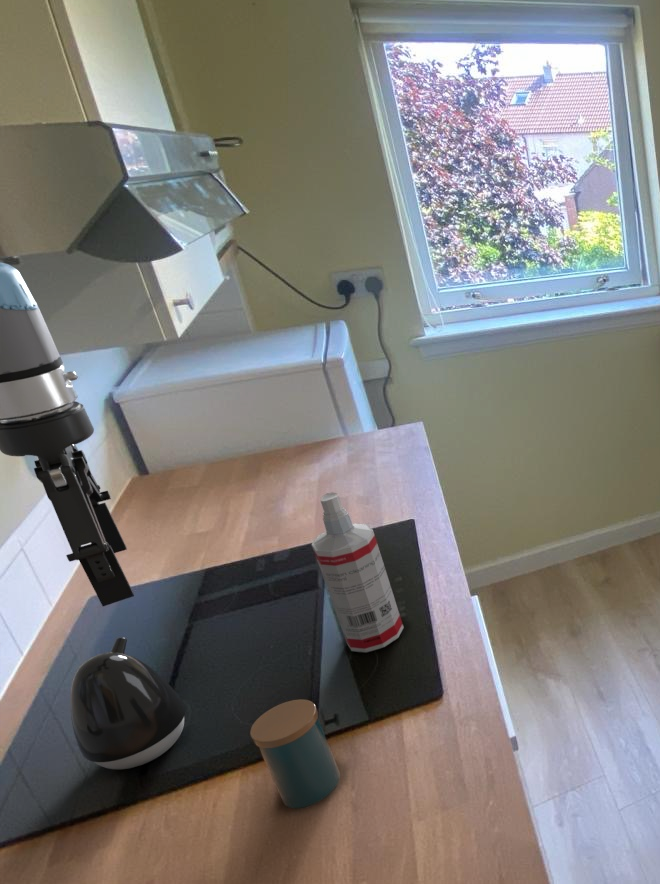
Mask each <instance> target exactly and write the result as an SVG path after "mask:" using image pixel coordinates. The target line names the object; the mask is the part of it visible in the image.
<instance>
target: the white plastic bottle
mask: <svg viewBox="0 0 660 884" xmlns="http://www.w3.org/2000/svg"><path fill="white" fill-rule="evenodd" d="M319 501H320V504H321V507H322V510H323V512H322V517H323V518H322V520H323V524H324V528H325V532H323V533H320V534H318V535H317V537H316V538H315V539H314V540H313V541H312V543H311V548H312V550H313V553H314V555H315V556H314V557H315V559H316V561H317V564H318V566H319V569H320V572H321V575H322V578H323V580H324V581H323V582H324V583H325V587H326V589H327V592H328V595H329V597H330V600H331V603H332V607H333V609H334V611H335V614H336V617H337V620H338V623H339V625H340V629H341V632H342V635H343V636H344V639H345V643H346V645H347V646H348V648H349V650H350V651H351V652H357V653H369V652H373V651H377V650H380V649H382V648H386V647H387V646H388V645H390V644H391V643H393V642H394V641H397V639H399V637H400V635H401V634H402V632H403V630H404V628H405V627H404V624H403V621H402V618H401V614H400V611H399V608H398V604H397V602H396V598H395V596H394V592H393V589H392V586H391V583H390V580H389V576H388V573H387V570H386V567H385V564H384V561H383V557H382V554H381V552H380V547H379V545H378V541H377V538H376V535H375V532H374V529H373V528H372V527H371V526H370V525H369V524H368V523H357V522H352V519H351V516H350V514H349V512H348V511H347V509H346V508H345V507H344V506H343V504H342V501H341V498H340V495H339V494H338V493H337V492H333V491H332V492H327V493H325V494H324V495H322V496H321V498H320V499H319Z"/></svg>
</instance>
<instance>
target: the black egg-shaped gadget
mask: <svg viewBox="0 0 660 884" xmlns="http://www.w3.org/2000/svg"><path fill="white" fill-rule="evenodd" d="M127 641H128V639H127V638H126V637H123V636H122V637H117V638H116V639H115V641H114V643H113V645H112V648H111V650H110V652H109V651H108V652H104V653H99V654H97V655H95V656H93V657H90V658H88V659H87V660H86V661H84V662H83V663H82V664H81V665H80V666H79V667H78V669H77V671H76V672H75V674H74V677H73V679H72V682H71V688H70V694H69V695H70V696H69V697H70V698H69V707H70V719H71V725H72V730H73V735H74V738H75V742H76V744H77V747H78V749H79V751H80V753H81V755H82V757H83V758H84V759H86V760H87V761H89V762H93V763H94V764H96V765H97V766H99V767H102V768H105V769H109V770H127V769H128V770H129V769H133V768H136V767H140V766H142V765H146V764H149V762H152V761H154V760H156V759H158V758H159V757H160V756H162V755H164V754H165V753H166V752H167V751H168V750H169V749H171V748H172V747H173V745H175V743H176V742H177V741H178V739H179V738H180V736H181V734H182V732H183V729H184V725H185V715H186V705H185V703H184V702H183V700H182V698H181V697H180V696H179V694H178V692H176V690H175V689H174V688H173V687H172V686H171V685H170V683H169V682H168V681H167V680H166V679H165V678H164V677H163V676H161V674H159V673H158V672H157V671H156V670H154V669H153V668H151V667H150V666H149V665H148V664H146V663H145V662H143V661H141V659H138V658H136V657H135V656H132V655H129V654H126V653H125V651H126V646H127Z"/></svg>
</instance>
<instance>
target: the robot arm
mask: <svg viewBox="0 0 660 884" xmlns="http://www.w3.org/2000/svg"><path fill="white" fill-rule="evenodd" d="M65 371H66V367H65V364H64V362H63V360H62V358H61V355H60V352H59V351H58V349H57V346H56V343H55V341H54V339H53V337H52V334H51V331H50V330H49V328H48V325H47V323H46V321H45V318H44V316H43V314H42V312H41V310H40V307H39V304H38V303H37V301H36V300H35V298H34V296H33V295H32V293H31V291H30V289H29V287H28V285H27V283H26V281H25V280H24V278H23V276H22V274H21V272H20V271H19V270H18V269H17V268H15V267H14V266H12V265H11V264H8V263H6V262H1V261H0V452H1V453H2V454H3V455H6V456H9V457H26V456H33V457H37V458H38V459H37V460H34V461H33V462H34V465H35V467H33V471H34V474H35V477H36V478H37V480H38V481H39V482H40V483H41V484H42V486H43V488H44V491H45V494H46V496H47V499H48V500H49V501H50V502H51V505H52V507H53V510H54V512H55V514H56V517H57V518H58V521H59V523H60V526H61V528H62V531H63V533H64V535H65V538H66V540H67V543H68V545H69V547H70V549H71V552H72V553H68V554H66V555H65V557H66V559H67V560H68V562H71V563H72V562H74V561H79V563H80V565H81V567H82V569H83V571H84V573H85V575H86V577H87V579H88V581H89V583H90V584H91V586H92V589H93V590H94V593H95V595H96V596H97V599H98V600H99V602H100V604H101V606H102V607H106V606H109V605H112V604H116V603H118V602H121V601H124V600H128V599H130V598H133V597H135V593H134V590H133V589H132V587H131V585H130V583H129V580H128V578H127V576H126V575H125V573H124V570H123V568H122V566H121V564H120V562H119V560H118V557H117V556H116V554H117V553H120V552H124V551H127V550H128V548H127V545H126V543H125V541H124V538H123V536H122V535H121V532H120V531H119V529H118V525H117V524H116V522H115V520H114V518H113V515H112V514H111V511H110V510H109V507H108V506H107V503H106V502H105V501H109V500H112V497H111V494H110V492H109V491H108V490H104V491H101V488H102V487H101V485H99V484H98V483H97V481H96V479H95V477H94V475H93V473H92V472H91V469H90V466H89V464H88V460H87V458H86V454H85V453H84V451H83V450H82V449H80V450H79V449H78V447H77V444H80V443H82V442H84V441H86V440H88V439H89V438H90V437H92V436H93V434H94V432H95V428H94V425H93V423H92V422H91V419H90V417H89V415H88V413H87V411H86V408H85V407H84V404H82V403H80V402H79V401H77V399H78V398H79V397H78V396H79V395H78V393H77V390H76V389H75V386H74V384H73V381H76V380H78V378H79V376H78V373H76V372H75V371H67V372H65ZM101 502H102V503H101Z"/></svg>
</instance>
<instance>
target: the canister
mask: <svg viewBox="0 0 660 884" xmlns="http://www.w3.org/2000/svg"><path fill="white" fill-rule="evenodd" d="M249 735H250V738H251V740H252V742H253V744H254V745H255V746H256V747H257V748H258V750H259V752H260V754H261V757H262V759H263V761H264V763H265V766H266V768H267V770H268V772H269V775H270V776H271V778H272V781H273V783H274V785H275V787H276V790H277V792H278V793H279V796H280V798H281V800H282V803H283V804H284V806H285V807H287V808H290V809H302V808H306V807H309V806H313V805H315V804H316V803H319V802H320V801H322V800H324V799H325V798H327V796H329V795H330V794H331V793H332V792H333V791H334V790H335V789H336V788H337V786H338V784H339V782H340V780H341V772H340V769H339V766H338V763H337V762H336V760H335V759H336V758H335V757H334V754H333V752H332V749H331V746H330V744H329V742H328V739H327V736H326V734H325V732H324V729H323V727H322V724H321V722H320V719H319V711H318V709H317V706H316V704H315V703H314V702H313V701H312V700H308V699H305V698H304V699H303V698H300V699H292V700H289V701H285V702H282V703H279V704H278V705H275V706H273V707H272V708H270V709H268V710H266V711H264V713H262V714H261V715H260V716H259V717H258V718H257V719H256V720H255V721H254V723H253V724H252V726H251V728H250V731H249Z"/></svg>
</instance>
